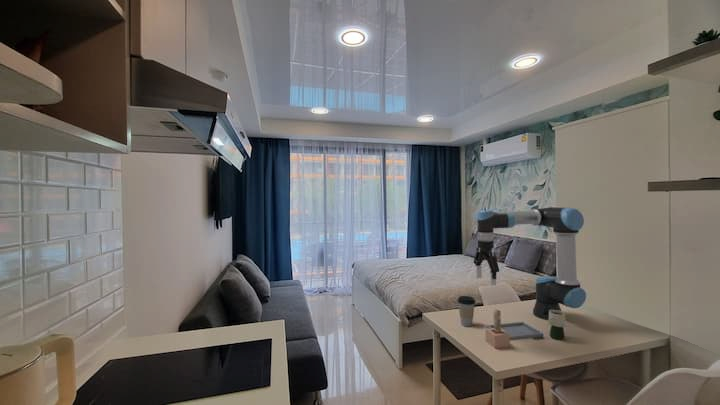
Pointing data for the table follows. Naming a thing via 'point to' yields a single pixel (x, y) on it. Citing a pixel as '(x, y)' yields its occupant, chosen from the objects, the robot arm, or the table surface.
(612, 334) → the table surface
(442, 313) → the table surface
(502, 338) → the pink square tube
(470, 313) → the coffee cup
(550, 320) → the character mug
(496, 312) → the dowel
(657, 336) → the table surface
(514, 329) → the tray
